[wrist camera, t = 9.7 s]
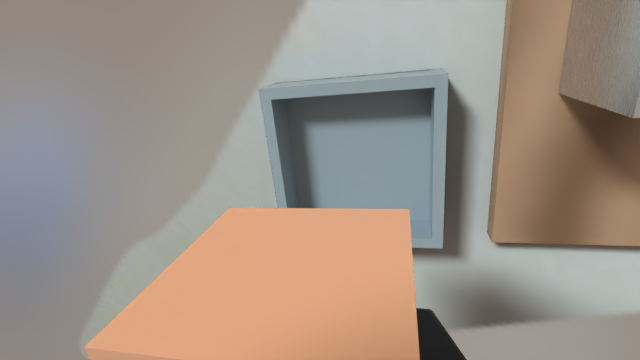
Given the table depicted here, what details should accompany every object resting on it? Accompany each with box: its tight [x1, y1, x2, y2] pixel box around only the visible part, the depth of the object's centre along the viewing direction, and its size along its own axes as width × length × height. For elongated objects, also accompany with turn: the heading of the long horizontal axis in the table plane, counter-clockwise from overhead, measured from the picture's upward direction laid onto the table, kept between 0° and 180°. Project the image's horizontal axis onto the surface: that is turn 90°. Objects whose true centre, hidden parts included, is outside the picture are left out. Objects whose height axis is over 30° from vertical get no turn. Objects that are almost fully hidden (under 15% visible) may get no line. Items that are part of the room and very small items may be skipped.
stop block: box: [84, 208, 420, 360], centre depth 6 cm, size 4×4×4 cm
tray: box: [259, 69, 448, 249], centre depth 17 cm, size 8×8×2 cm
